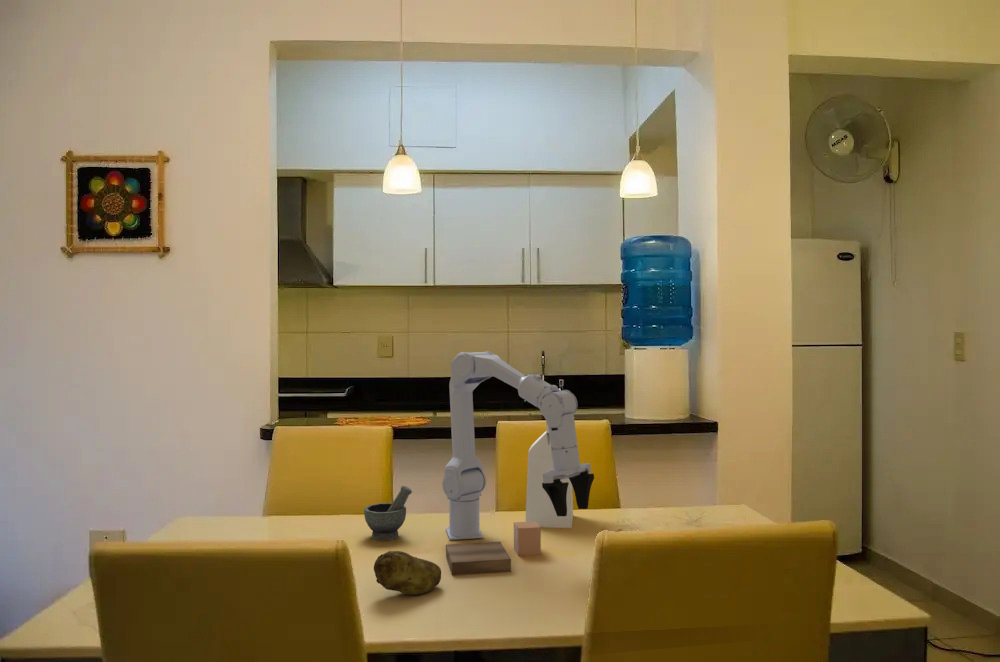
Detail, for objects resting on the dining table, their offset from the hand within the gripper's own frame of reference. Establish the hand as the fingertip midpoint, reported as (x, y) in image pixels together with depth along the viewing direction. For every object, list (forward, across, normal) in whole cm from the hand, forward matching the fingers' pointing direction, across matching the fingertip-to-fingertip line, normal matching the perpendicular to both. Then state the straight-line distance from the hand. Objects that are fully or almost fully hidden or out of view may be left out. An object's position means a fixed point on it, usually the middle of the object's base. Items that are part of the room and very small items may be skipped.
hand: (572, 512), depth 147 cm
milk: (+7, +22, +25) cm, 34 cm away
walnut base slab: (+8, -14, +16) cm, 23 cm away
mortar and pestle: (+4, -14, +45) cm, 47 cm away
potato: (+8, -35, +14) cm, 38 cm away
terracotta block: (+9, -1, +13) cm, 16 cm away
